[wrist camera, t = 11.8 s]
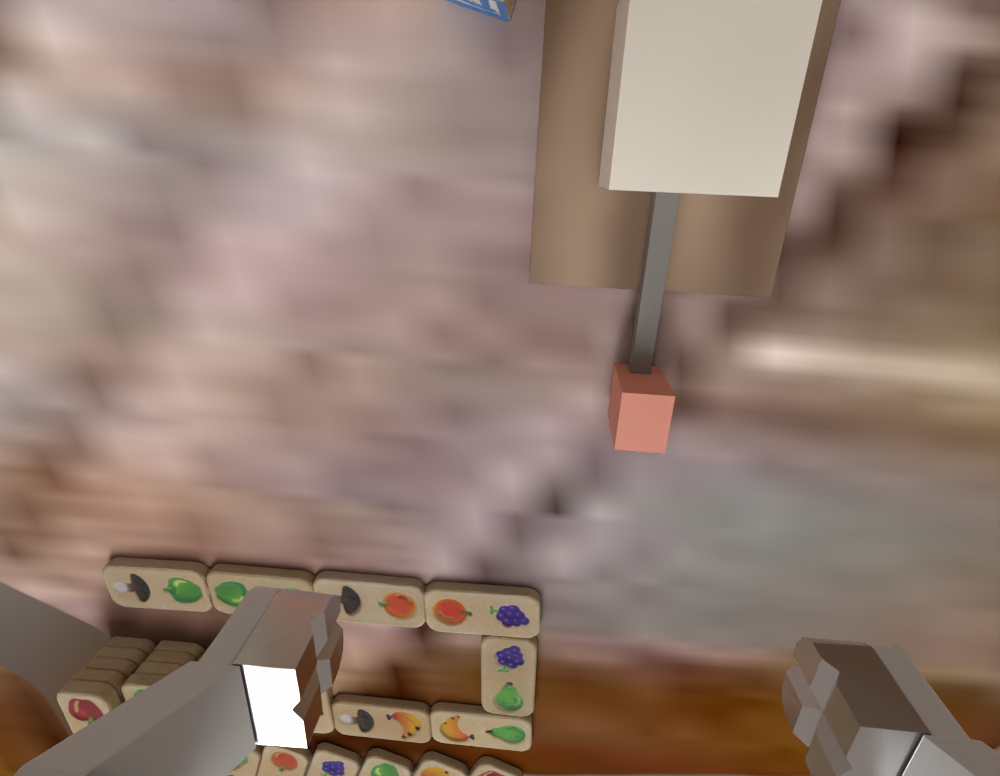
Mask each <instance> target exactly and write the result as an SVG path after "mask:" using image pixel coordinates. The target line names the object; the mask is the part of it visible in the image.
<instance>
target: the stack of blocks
mask: <svg viewBox="0 0 1000 776" xmlns="http://www.w3.org/2000/svg"><path fill="white" fill-rule="evenodd" d="M448 1H450V2H453V3H455V4H458V5H461V6H464V7H467V8H469V9H472V10H475V11H478V12H481V13H484V14H487V15H490V16H493V17H496V18H499V19H502V20H505V21H510V19H511V16H512V12H513V9H514V5H515V1H516V0H448Z"/></svg>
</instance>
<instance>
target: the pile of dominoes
mask: <svg viewBox="0 0 1000 776" xmlns="http://www.w3.org/2000/svg"><path fill="white" fill-rule="evenodd" d="M102 573H103V578H104V580H105V583H106V586H107V588H108V591H109V593H110V595H111V598H112V599H113V600H114V601H115V603H117V604H119V605H120V606H124V607H136V608H152V609H167V610H183V611H198V612H205V611H208V610H210V609H211V608H212V607H213V606H215V607H216V609H218V610H219V611H221V612H224V613H228V614H232V613H233V612H234V611H235V609H236V608H237V606H238V605H239V603H240V602H241V600H242V599H243V598H244V596H245V595H246V593H247V592H248V591H249V590H251V589H252V588H254V587H255V586H262V587H270V588H279V589H291V590H300V591H308V592H317V593H325V594H333V595H336V596H338V597H339V601H340V608H341V611H340V614H339V616H338V618H337V620H336V621H345V622H356V623H367V624H379V625H391V626H402V627H420V626H421V625H423V624H424V622H425V621H426V622H427V624H428V625H429V626H430V628H432V629H434V630H436V631H440V632H452V633H466V634H482V639H481V703H482V706H476V705H467V704H457V703H447V702H438V703H435V704H434V705H433V706H432V707H430V706H428V705H427V704H425V703H423V702H418V701H408V700H399V699H390V698H380V697H371V696H361V695H352V694H339V695H337V696H335V697H333V694H332V690H331V687H330V688H329V689H328V690H326V691H325V692H324V693H323V694H321V699H322V708H323V710H322V713H321V715H320V718H319V720H318V722H317V725H316V727H315V730H314V733H329V732H331V731H332V730H333V729H334V728H336V729H337V731H339V732H340V733H341V734H345V735H353V736H363V737H372V738H381V739H390V740H399V741H408V742H417V743H424V742H427V741H429V740H430V738H431V736H433V737H434V739H435V740H437V741H439V742H441V743H450V744H459V745H468V746H478V747H487V748H496V749H505V750H514V751H525V750H528V749H529V748H530V747H531V744H532V716H531V715H530V714H531V713H532V712H533V711H534V703H535V684H536V663H537V639H536V638H535V636H536V635H537V634H538V633H539V630H540V606H541V600H540V595H539V593H538V592H537V591H536V590H534V589H532V588H527V587H513V586H499V585H485V584H471V583H457V582H442V581H435V582H432V583H430V584H429V585H424V583H423V582H421V581H420V580H418V579H415V578H407V577H396V576H383V575H372V574H360V573H348V572H336V571H323V572H320V573H319V574H318V575H317V576H314V575H313V574H311V573H309V572H307V571H303V570H291V569H279V568H268V567H256V566H244V565H232V564H217V565H215V566H214V567H213V568H212V569H209V568H208V567H207V566H206V565H204V564H202V563H200V562H191V561H174V560H158V559H142V558H124V557H116V558H114V559H112V560H111V561H110V562H109V563H108V564H107V565H106V566H105V567H104V568H103V570H102ZM208 648H209V647H208ZM208 648H207V649H208ZM207 649H206V650H204V649H203V648H202V647H201V646H200V645H198V644H196V643H188V642H178V641H166V640H163V641H161V642H160V643H159V644H158V645H157V646H156V644H155V643H154V642H152V641H151V640H149V639H144V638H132V637H119V636H115V637H113V638H112V639H111V640H110V641H109V642H108V643H107V644H106V646H105V647H104V648H102V649H100V651H99V652H98V653H97V654H96V655H95V657H94V658H92V659H91V660H90V661H89V662H88V663H87V665H86V666H85V667H84V668H83V669H81V670H79V671H78V672H77V674H75V676H74V677H73V678H72V679H71V681H70V682H68V683H67V684H66V685H65V686H64V687H63V688H62V689H61V690H60V692H59V693H58V694H57V701H58V703H59V705H60V707H61V709H62V711H63V713H64V715H65V717H66V719H67V721H68V724H69V726H70V728H71V730H72V732H73V734H74V733H76V732H78V731H79V730H81V729H82V728H84V727H86V726H87V725H89V724H90V723H92V722H94V721H95V720H97V719H98V718H100V717H102V716H103V715H105V714H106V713H108V712H110V711H111V710H113V709H114V708H116V707H118V706H119V705H121V704H122V703H124V702H126V701H127V700H129V699H130V698H132V697H134V696H135V695H137V694H138V693H140V692H142V691H143V690H145V689H146V688H148V687H150V686H151V685H153V684H154V683H156V682H158V681H159V680H161V679H162V678H164V677H166V676H167V675H169V674H170V673H172V672H174V671H175V670H177V669H178V668H180V667H182V666H183V665H185V664H186V663H188V662H190V661H195V662H199V661H200V659H201V658H202V656H203V655H204V654H205V652H206V651H207ZM227 776H523V773H522V771H521V770H520V769H518V768H516V767H514V766H511V765H509V764H507V763H505V762H502V761H500V760H498V759H495V758H493V757H489V756H484V757H481V758H479V759H478V760H477V762H476V763H475V764H474V765H473V767H472V768H471V769H470V770H468V768H467V766H466V765H465V764H464V763H462V762H460V761H457V760H455V759H452V758H450V757H447V756H445V755H443V754H440V753H438V752H434V751H429V752H426V753H425V754H423V756H422V758H421V759H420V761H419V762H418V764H417V765H416V766H415V768H414V766H413V764H412V762H411V761H410V760H409V759H406V758H404V757H402V756H399V755H396V754H394V753H391V752H388V751H386V750H383V749H380V748H373V749H371V750H369V751H368V753H367V755H366V757H365V759H364V760H363V759H362V758H361V757H360V756H359V755H358V754H357V753H355V752H352V751H350V750H347V749H344V748H341V747H339V746H336V745H333V744H330V743H327V742H323V743H320V744H318V745H317V748H316V750H315V752H314V754H312V753H311V751H310V750H309V749H308V748H299V747H286V746H273V745H265V746H263V745H260V744H256V748H255V749H254V750H253V751H252V752H251V753H250V754H249V755H248V756H247V757H246V758H245V759H244V760H243V761H242V762H241V763H240V764H239V765H238V766H237V767H236V768H234V769H233V770H232V771H231V772H230V773H229V774H228V775H227Z"/></svg>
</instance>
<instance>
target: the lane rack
mask: <svg viewBox="0 0 1000 776" xmlns="http://www.w3.org/2000/svg"><path fill="white" fill-rule="evenodd" d="M840 2H841V0H822V5H821V9H820V14H819V18H818V22H817V27H816V31H815V36H814V40H813V44H812V49H811V53H810V58H809V62H808V67H807V71H806V75H805V80H804V84H803V89H802V93H801V98H800V102H799V106H798V111H797V115H796V120H795V124H794V129H793V133H792V137H791V142H790V146H789V151H788V155H787V160H786V164H785V168H784V173H783V177H782V182H781V186H780V191H779V195H778V197H759V196H736V195H714V194H691V193H679V198H678V205H677V211H676V217H675V223H674V230H673V236H672V242H671V249H670V255H669V261H668V268H667V274H666V280H665V287H664V291H668V292H684V293H701V294H718V295H734V296H751V297H768V298H770V297H771V293H772V289H773V284H774V280H775V276H776V272H777V268H778V263H779V259H780V255H781V251H782V246H783V242H784V238H785V234H786V230H787V225H788V221H789V217H790V213H791V209H792V204H793V200H794V196H795V192H796V187H797V183H798V179H799V175H800V171H801V166H802V162H803V158H804V154H805V149H806V145H807V141H808V137H809V133H810V128H811V124H812V120H813V116H814V111H815V107H816V103H817V99H818V95H819V90H820V86H821V82H822V78H823V73H824V69H825V65H826V61H827V57H828V52H829V48H830V44H831V40H832V36H833V31H834V27H835V23H836V19H837V14H838V10H839V6H840ZM618 3H619V0H546V11H545V28H544V45H543V61H542V78H541V95H540V111H539V128H538V145H537V161H536V178H535V195H534V212H533V228H532V245H531V262H530V278H529V283H535V284H551V285H568V286H585V287H601V288H618V289H635V290H639V287H640V280H641V273H642V265H643V258H644V251H645V244H646V237H647V230H648V223H649V215H650V208H651V201H652V194H653V192H647V191H624V190H608V189H606V188H603V187H601V186H598V185H599V176H600V166H601V156H602V146H603V137H604V127H605V117H606V107H607V98H608V88H609V78H610V68H611V59H612V49H613V39H614V30H615V20H616V10H617V6H618Z"/></svg>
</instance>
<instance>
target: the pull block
mask: <svg viewBox="0 0 1000 776" xmlns="http://www.w3.org/2000/svg"><path fill="white" fill-rule="evenodd" d="M821 5H822V0H619V3H618V6H617V10H616V20H615V30H614V39H613V49H612V59H611V68H610V78H609V88H608V98H607V107H606V117H605V127H604V137H603V146H602V156H601V166H600V176H599V185H598V186H601V187H603V188H606V189H608V190H624V191H647V192H653V194H652V201H651V208H650V215H649V223H648V230H647V237H646V244H645V251H644V258H643V265H642V273H641V280H640V287H639V294H638V301H637V308H636V315H635V323H634V330H633V337H632V344H631V351H630V358H629V365H627V364H614V370H613V378H612V386H611V394H610V401H609V409H608V418H609V423H610V429H611V434H612V439H613V444H614V449H617V450H628V451H640V452H652V453H664V454H665V450H666V444H667V439H668V433H669V428H670V422H671V417H672V411H673V406H674V400H675V395H674V393H673V391H672V389H671V387H670V385H669V383H668V381H667V379H666V377H665V375H664V373H663V371H662V369H661V367H655V366H652V362H653V356H654V350H655V344H656V337H657V331H658V325H659V318H660V312H661V306H662V299H663V293H664V287H665V280H666V274H667V268H668V261H669V255H670V249H671V242H672V236H673V230H674V223H675V217H676V211H677V205H678V198H679V193H691V194H714V195H736V196H759V197H778V195H779V191H780V186H781V182H782V177H783V173H784V168H785V164H786V160H787V155H788V151H789V146H790V142H791V137H792V133H793V129H794V124H795V120H796V115H797V111H798V106H799V102H800V98H801V93H802V89H803V84H804V80H805V75H806V71H807V67H808V62H809V58H810V53H811V49H812V44H813V40H814V36H815V31H816V27H817V22H818V18H819V14H820V9H821Z"/></svg>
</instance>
